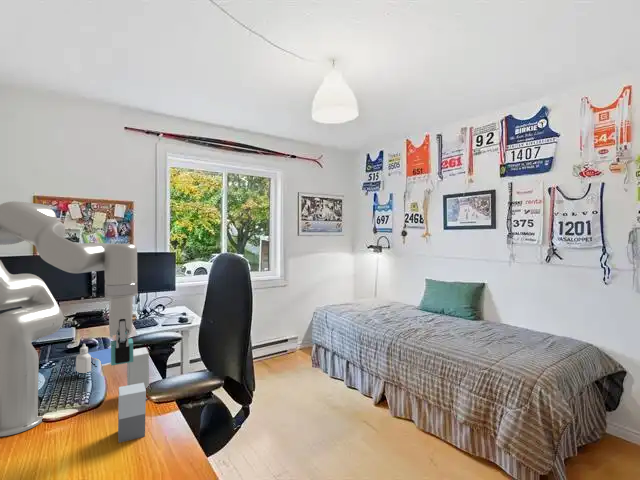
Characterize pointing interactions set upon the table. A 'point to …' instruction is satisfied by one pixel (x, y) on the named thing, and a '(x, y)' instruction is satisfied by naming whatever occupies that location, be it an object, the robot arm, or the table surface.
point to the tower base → (131, 427)
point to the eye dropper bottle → (83, 360)
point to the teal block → (113, 346)
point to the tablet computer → (102, 356)
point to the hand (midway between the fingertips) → (122, 358)
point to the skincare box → (139, 368)
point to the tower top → (132, 400)
